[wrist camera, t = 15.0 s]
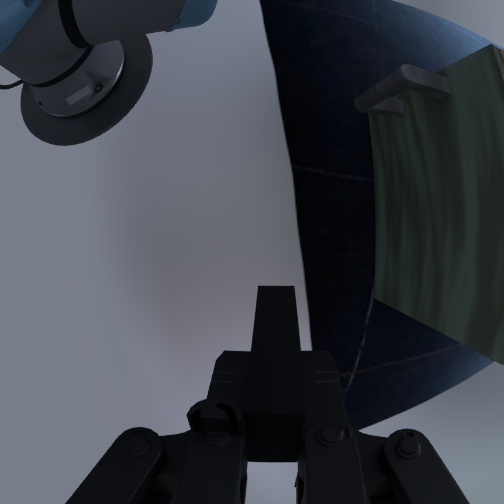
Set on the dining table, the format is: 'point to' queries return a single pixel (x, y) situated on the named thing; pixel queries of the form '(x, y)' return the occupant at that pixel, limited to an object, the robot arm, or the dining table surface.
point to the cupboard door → (442, 197)
